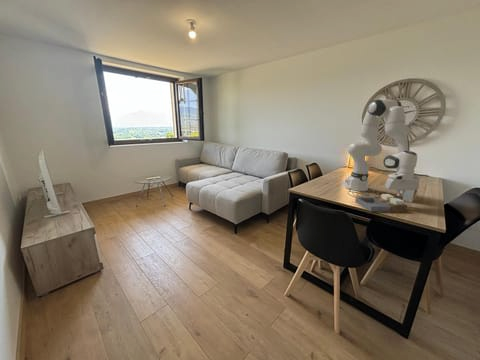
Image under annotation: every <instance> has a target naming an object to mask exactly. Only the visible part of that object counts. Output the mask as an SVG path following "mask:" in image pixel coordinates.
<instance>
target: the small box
mask: <svg viewBox="0 0 480 360" xmlns="http://www.w3.org/2000/svg"><path fill="white" fill-rule="evenodd" d="M418 189H419V188H418ZM418 189H417V190H406V192H405V193H404V194H403V196H402V199H401V200H403V201H404V202H408V203H409V202H410V203H413V202H414V201H415V200H416V197H417V194H418V193H417V192H418Z"/></svg>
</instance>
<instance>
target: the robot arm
mask: <svg viewBox="0 0 480 360" xmlns="http://www.w3.org/2000/svg"><path fill="white" fill-rule="evenodd" d="M383 117H384V132H385V135H387V137H390V138H392V139H393V140H395V142H396V145H397V153H395V154H394V153H393V154H390V155H389V154H388V155H386V156H385V157H384V159H383V166H384V167H385V168H386V169H391V170H392V169H394V170H395V169H396V171H395V172H393V173H390V174H388V175H387V177H388V178H387V179H386V181H385V186H384V187H385V189H386V190H389V191H390V190H391V191H395V192H396V196H398V197H403V195H404V193H405V192H406V190H417V189H419V188H420V177H419V176H417V175H415V168H416V166H417V162H418V154H417V153H416V152H415V151H411V150H410V140H409V134H408V131H407V129H406V112H405V108H404V107H403V106H402V103H401V102H400V101H399V100H397V99H389V98H387V99H375V100H372V101H371V102H370V103H369V104H368V106H367V111H366V113H365V116H364V118H363V121H362V123H361V124H362V125H361V130H360V136H361V137H362V138H363V139H364V142H363V141H362V142H361V141H360V142H354V143H350V144H349V146H348V147H347V152H348V154H349V156H351V158H352V159H353V169H352V171H351V173H350V176H348V177H346V178H345V180H344V182H341V185H342V186H343V187H344V188H345V189H347V190H352V191H356V192H367V191H368V190H369V188H370V187H369V174H370V173H369V172H370V171H369V170H370V162H368V161H367V160H366V157H374V156H375V157H376V156H379V155H380V154H381V153H382V151H383V148H382V147H383V146H382V145H381V144H380V142H379V141H378V132H379V127H380V123H381V119H382V118H383ZM417 191H418V190H417Z"/></svg>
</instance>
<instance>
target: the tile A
mask: <svg viewBox="0 0 480 360" xmlns="http://www.w3.org/2000/svg"><path fill="white" fill-rule="evenodd" d="M380 197H381V198H383V199H385V200H390V198H395V196H393V195H391V194H389V193H382V194H381V196H380Z"/></svg>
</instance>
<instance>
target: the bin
mask: <svg viewBox="0 0 480 360" xmlns="http://www.w3.org/2000/svg"><path fill="white" fill-rule="evenodd" d="M374 197H375V196H374ZM374 197H373V196H372V197H371V196H369V197H368V196H367V197H361V196H360V197H359V196H358V197H355V201H354V202H355V203H356V204H358V205H360V206H361V207H363V208H364V209H365V210H367V211H369V212H373V213H374V212H375V213H376V212H380V213H381V212H383V213H385V212H388V213H389V212H390V209H391V206H389V205H387V204H385V203H384V202H382V201H380V200H378V199H376V198H374ZM390 213H391V212H390Z"/></svg>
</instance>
